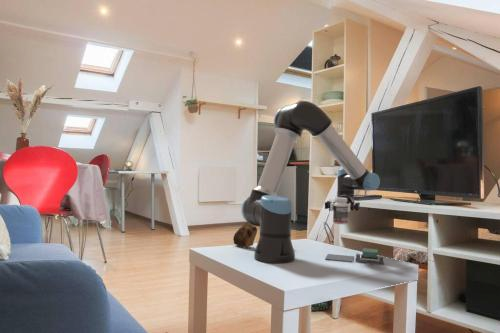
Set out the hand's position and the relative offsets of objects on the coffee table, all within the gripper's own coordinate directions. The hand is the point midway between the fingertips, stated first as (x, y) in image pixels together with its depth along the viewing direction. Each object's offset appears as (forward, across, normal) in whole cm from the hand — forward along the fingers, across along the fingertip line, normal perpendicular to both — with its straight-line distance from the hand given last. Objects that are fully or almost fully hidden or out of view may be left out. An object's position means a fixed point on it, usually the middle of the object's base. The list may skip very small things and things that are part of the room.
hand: (339, 207), depth 141 cm
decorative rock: (-12, +41, -20) cm, 47 cm away
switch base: (-3, -11, -20) cm, 23 cm away
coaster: (-5, 0, -20) cm, 21 cm away
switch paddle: (-3, -11, -18) cm, 21 cm away
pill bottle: (-5, 0, -7) cm, 8 cm away
